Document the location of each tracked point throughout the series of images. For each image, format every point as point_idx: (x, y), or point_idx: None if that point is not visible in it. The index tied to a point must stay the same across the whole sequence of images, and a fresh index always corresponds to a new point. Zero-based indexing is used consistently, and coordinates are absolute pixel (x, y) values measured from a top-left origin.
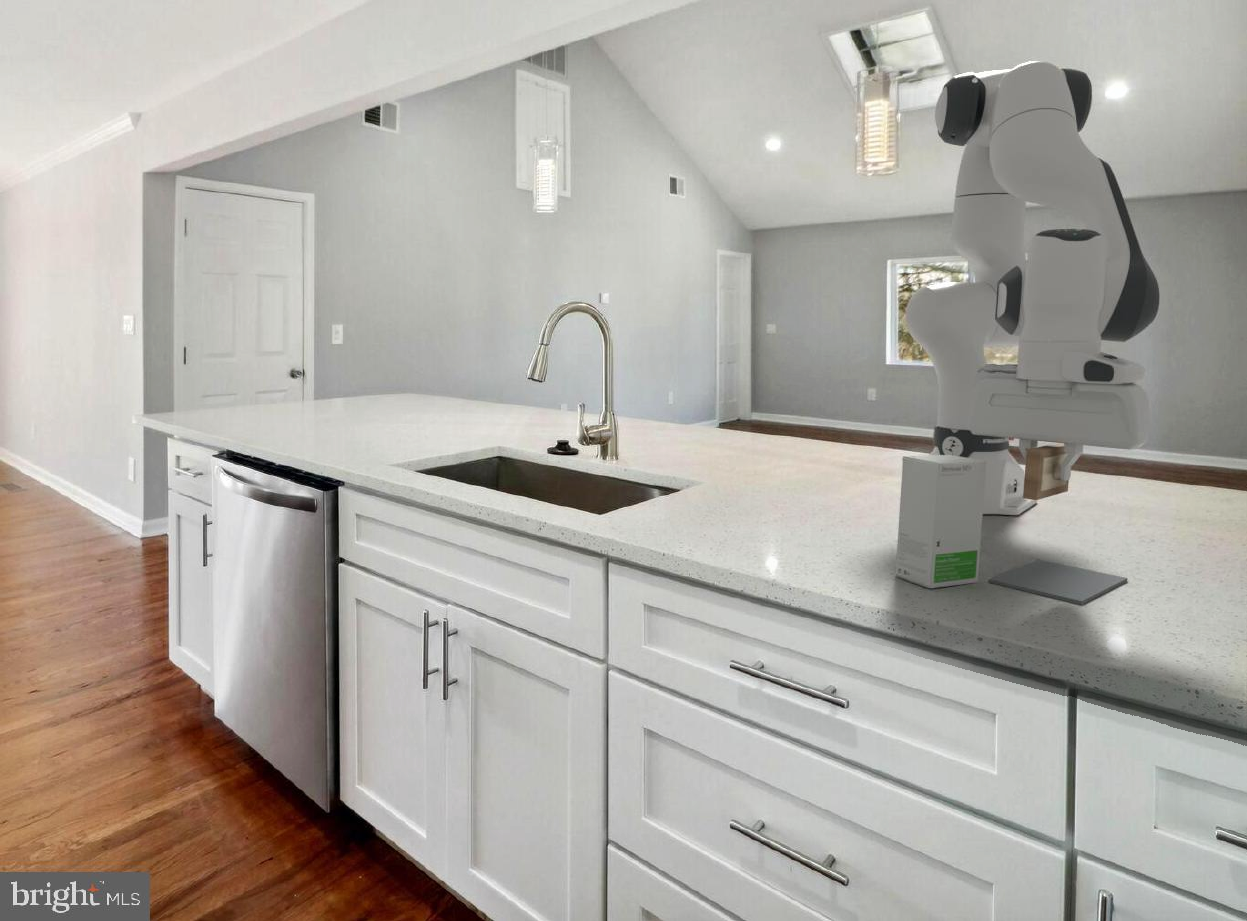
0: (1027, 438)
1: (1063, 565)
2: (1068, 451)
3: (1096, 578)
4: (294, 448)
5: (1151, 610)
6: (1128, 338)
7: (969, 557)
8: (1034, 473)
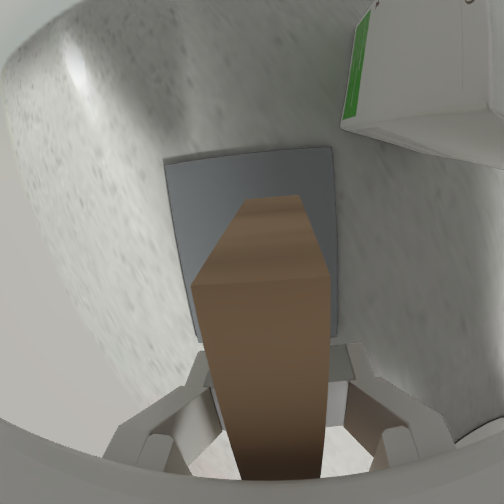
0: (409, 465)
1: None
2: (147, 438)
3: None
4: None
5: (108, 231)
6: None
7: (355, 94)
8: (251, 223)
